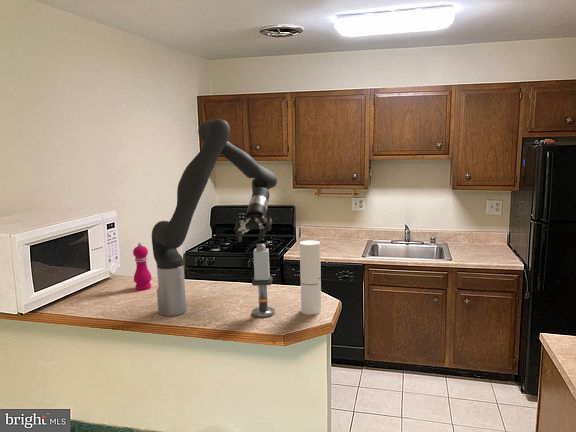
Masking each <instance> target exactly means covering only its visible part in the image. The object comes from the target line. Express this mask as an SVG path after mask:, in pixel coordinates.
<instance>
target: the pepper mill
mask: <svg viewBox="0 0 576 432" xmlns="http://www.w3.org/2000/svg"><path fill="white" fill-rule="evenodd" d="M132 254H133V257H134V262H135V263H136V269H135V271H134V276H133V282H134V283H135V290H136V291H147V289H148V290H151V288H152V283H151V281H152V274H151V272H150V270H149V269H148V263H147V261H148V254H149V250H148V248H147V247H146V246H143V243H142V242H138V243H137V246H136V247H134V248H133V250H132Z"/></svg>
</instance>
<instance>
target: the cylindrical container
mask: <svg viewBox="0 0 576 432" xmlns="http://www.w3.org/2000/svg"><path fill="white" fill-rule="evenodd" d="M299 261H300V262H299V267H300V268H299V271H300V310H301V311H300V312H301V313H302V314H303V315H308V314H309V316H310V314H311V316H312V314H314V315H317V314H318V313H319V314H320V313H321V312H322V286H321V285H322V281H321V280H322V279H321V278H322V277H321V274H322V273H321V270H322V269H321V268H322V267H321V241H318V240H309V239H308V240H301V241H300V242H299ZM319 314H318V315H319Z"/></svg>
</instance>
